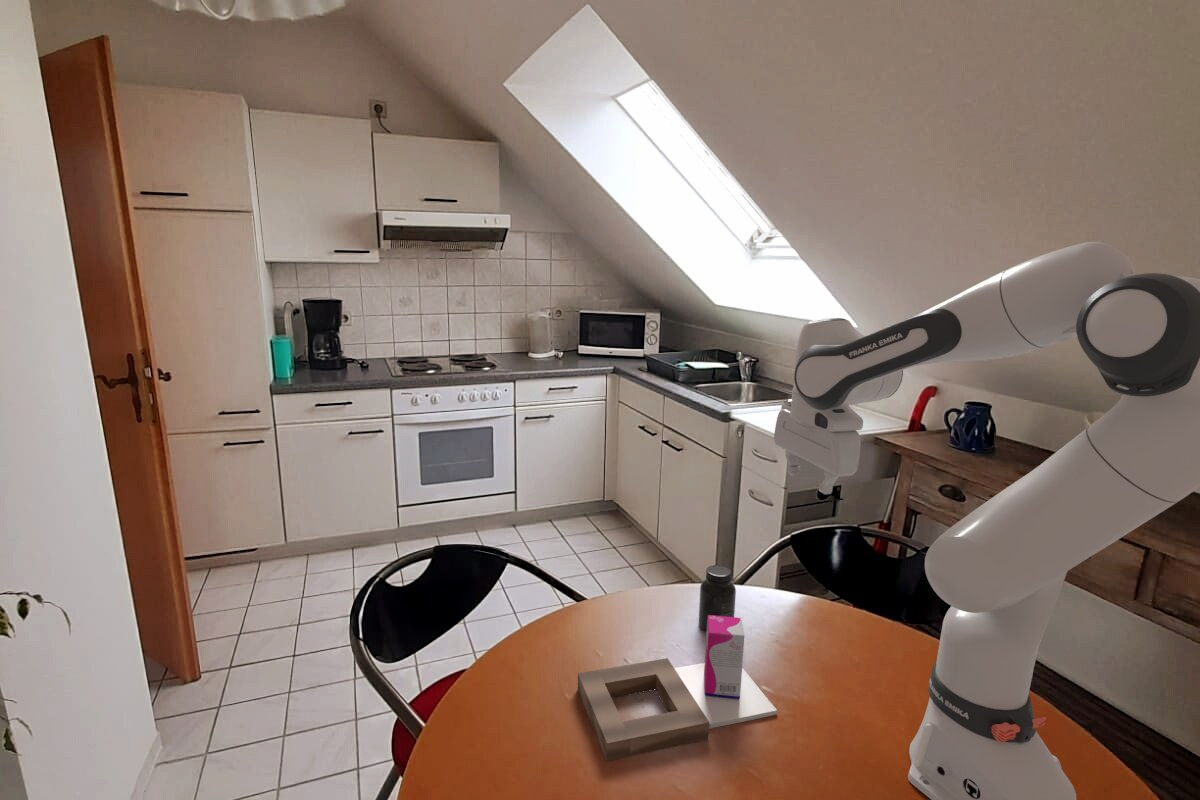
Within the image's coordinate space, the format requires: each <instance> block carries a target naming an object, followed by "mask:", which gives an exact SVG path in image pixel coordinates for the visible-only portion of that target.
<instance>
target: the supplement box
mask: <svg viewBox="0 0 1200 800" xmlns="http://www.w3.org/2000/svg"><path fill="white" fill-rule="evenodd" d="M705 633H706V635H705V636H706V637H705V651H704V652H705V653H704V663H705V666H704V691H705V696H713V697H723V698H731V699H740V691H741V678H742V668H743V661H744V647H745V646H744V645H745V632H744V627H743V623H742V617H735V616H734V617H725V616H713V615H708V618H707V632H705Z"/></svg>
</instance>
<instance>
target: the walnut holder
mask: <svg viewBox="0 0 1200 800" xmlns="http://www.w3.org/2000/svg"><path fill="white" fill-rule="evenodd" d="M674 668H675V667H674V666H673V664H672V663H671V661H670V660H669V658H668V657H667V658H661V659H655V660H649V661H642V662H638V663H632V664H627V665H626V664H625V665H619V666H614V667H608V668H601V669H597V670H590V671H584V672H578V673H577V691H578V694H579V697H580V698H581V701H582V703H583V707H584V708H585V711H586V713H587V716H588V719H589V720H590V723H591V726H592V729H593V730H594V734H595V736H596V738H597V741H598V744H599V746H600V749H601V751H602V754H603V757H604V759H605V760H606V762H610V761H614V760H619V759H624V758H627V757H628V758H629V757H633V756H637V755H641V754H646V753H647V754H648V753H652V752H657V751H662V750H666V749H671V748H674V747H675V748H676V747H680V746H684V745H688V744H693V743H699V742H703V741H708V740H709V735H710V734H709V732H710V729H709V721H708V719H707V718H706V716H705V715H704V713H703V712H702V710H701V709H700V707H699V706H698V704H697V702H696V701H695V699H694V698H693V696H692V695H691V693H690V692H689V690H688V689H687V687H686V686H685V684H684V683H683V681H682V680H681V678H680V676H679V675H678V673H677V672H676V670H675V669H674ZM654 689H656V690H654ZM649 690H652V691H655V692H656V691H657V692H656V694H657V696H658V697H659V696H660V697H659V699H660V698H661V699H660V700H661V702H662V704H663V706H664V705H665V706H664V707H665V709H666V710H667V712H666V713H660V714H655V715H650V716H645V717H639V718H634V719H629V720H625V721H623V719H622V717H621V715H620V713H619V711H618V709H617V707H616V705H615V702H614V700H613V699H614V698H618V697H624V696H630V695H629V694H631V695H635V693H636V694H640V693H639V692H642V693H646V692H645V691H647V692H650V691H649ZM643 691H644V692H643Z"/></svg>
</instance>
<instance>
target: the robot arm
mask: <svg viewBox="0 0 1200 800" xmlns="http://www.w3.org/2000/svg"><path fill="white" fill-rule="evenodd" d="M1074 338H1077V340H1078V343H1079V345H1080V347H1081V349H1082V350H1083V351H1082V352H1083V353H1084V354H1085V355H1086V357H1088V359H1089V360H1090V361H1091V363H1092V364H1093V365H1094V366H1095V367H1096V368H1097V370H1098V371H1099V373H1100V375H1101V376H1102V378H1103V380H1104V382H1105V384H1106V385H1107V387H1108V388H1109V389H1111V390H1112V391H1113V392H1115V393H1118V394H1122V395H1121V397H1120V399H1119V400H1118V401H1117V402H1116V403H1115V405H1113V407H1111V408H1110V409H1109V410H1108V411H1107V412H1106V413H1104V415H1102V416H1100V417H1099V418H1098V419H1097V420H1095V421H1094V422H1092V424H1090V425H1089V426H1088V427H1086V428H1085V429H1083V430H1082V431H1081V432H1080V433H1079V434H1077V435H1076V436H1075V437H1074V438H1073V439H1071V440H1070V441H1068V442H1067V443H1065V445H1063V446H1062V447H1061V448H1060V449H1058V450H1057V451H1056V452H1054V453H1053V454H1051V456H1049V457H1048V458H1047V459H1046V460H1044V461H1043V462H1042V463H1041V464H1040V465H1038V466H1036V467H1035V468H1034V469H1033V470H1031V471H1030V472H1028V473H1027V474H1026V475H1023V476H1022V477H1020V478H1019V479H1018V480H1016V481H1015V482H1013V483H1012V484H1010V485H1008V486H1007V487H1005V488H1004V489H1003V490H1001V491H1000V492H998V493H997V494H995V495H994V496H993V497H991V498H990V499H988V500H987V501H986V502H984V503H982V504H981V505H979V506H978V507H977V508H975V509H974V510H972V511H971V512H969V514H967V515H966V516H965V517H963V518H961V519H960V520H959V521H957V522H956V523H955V524H953V525H952V526H950V528H948V529H947V530H945V531H944V532H943V533H942V534H941V535H940V536H939V537H937V539H936V540H935V541H934V542H933V543H932V544H931V545H930V546H929V548H928V550H927V551H926V555H925V557H924V570H925V571H924V572H925V576H926V578H927V580H928V583H929V585H930V587H931V588H932V589H933V591H934V592H935V593H936V595H937V596H938V597H939V598H940V599H941V600H942V601H944V602H945V603H946V604H948V605H949V606H950V608H948V610H947V611H946V613H945V616H944V618H943V621H942V626H941V632H940V639H939V644H938V651H937V657H936V662H934V664H933V665H932V668H931V673H930V677H929V681H928V696H929V699H928V703H927V706H926V709H925V714H924V716H923V719H922V721H921V724H920V726H919V728H918V731H917V733H916V734H915V736H914V738H913V739H912V740H911V742H910V744H909V753H908V754H909V758H910V762H911V765H910V768H909V771H908V773H907V774H908V775H907V779H908V781H909V782H910V783H911V784H912V785H913V786H914V787H915V788H917V790H918V791H920V792H921V793H922V794H924V795H925V796H926V797H928V798H929V800H1077V793H1076V790H1075V788H1074V785H1073V784H1072V782H1071V781H1070V779H1069V778H1068V777H1067V774H1066V773H1065V772H1064V771H1063V769H1062V764H1061V762H1060V760H1059V758H1058V757H1057V756H1055V755H1053V754H1052V753H1051V751H1050V750H1049V749H1048V747H1047V746H1046V744H1045V742H1044V740H1043V739H1042V737H1040V734H1039V733H1038V732H1037V729H1038V728H1041V727H1043V726H1045V725H1046V722H1045V721H1046V720H1047V717H1046V716H1042V717H1038V718H1036V717H1035V714H1034V708H1033V705H1032V704H1033V703H1032V700H1031V696H1030V694H1029V693H1030V690H1031V689H1030V688H1031V684H1032V679H1033V675H1034V674H1033V673H1034V668H1035V664H1036V659H1037V656H1038V651H1039V648H1040V645H1041V642H1042V638H1043V636H1044V633H1045V631H1046V628H1047V626H1048V625H1049V624H1048V623H1049V622H1050V620H1051V617H1052V614H1053V612H1054V610H1055V607H1056V604H1057V602H1058V599H1059V596H1060V593H1061V591H1062V588H1063V585H1064V582H1065V579H1066V576H1067V573H1068V571H1070V570H1071V569H1073V568H1075V567H1077V566H1078V565H1080V564H1081V563H1083V562H1084V561H1085V560H1087V559H1090V558H1091V557H1092V556H1094V555H1096V554H1097V553H1099V552H1101V551H1102V550H1104V549H1105V548H1107V547H1109V546H1110V545H1112V544H1113V543H1115V542H1117V541H1118V540H1120V539H1122V538H1123V537H1125V536H1126V535H1128V534H1129V533H1131V532H1132V531H1134V530H1136V529H1137V528H1139V527H1140V526H1142V525H1144V524H1145V523H1147V522H1149V520H1151V519H1153V518H1155V517H1157V516H1158V515H1160V514H1161V513H1163V512H1165V511H1166V510H1167V509H1168V508H1171V507H1173V506H1174V505H1175V504H1177V503H1178V502H1180V501H1182V500H1183V499H1185V498H1186V497H1188V496H1190V494H1191V493H1194V492H1195V491H1196V490H1197V489H1199V488H1200V278H1196V277H1189V276H1181V275H1180V276H1179V275H1171V274H1168V273H1159V272H1157V273H1156V272H1154V273H1153V272H1149V273H1147V272H1146V273H1140V274H1137V272H1136V269H1135V267H1134V265H1133V264H1132V261H1131V260H1130V259H1129V258H1128V256H1126V254H1125V253H1123V252H1122V250H1120V249H1118V248H1117V247H1115V246H1113V245H1112V244H1109V243H1107V242H1104V241H1103V242H1102V241H1085V242H1082V243H1078V244H1074V245H1071V246H1067V247H1066V246H1065V247H1063V248H1059V249H1057V250H1053V251H1050V252H1048V253H1047V252H1046V253H1045V254H1042V255H1041V254H1040V255H1039V256H1036V257H1033V258H1031V259H1028V260H1026V261H1023V262H1021V263H1018V264H1016V265H1015V266H1014V265H1013V266H1011V267H1009V268H1007V269H1004V270H1002V271H1001V272H997V274H996V273H995V274H994V275H992V276H990V277H988V278H986V279H985V280H983V281H981V282H978V283H977V284H974V285H973V286H971V287H969V288H967V289H965V290H963V291H961V292H959V293H958V294H955V295H954V296H952V297H950V298H948V299H946V300H944V301H942V302H939V303H938V304H936V305H934V306H932V307H930V308H928V309H926V310H924V311H922V312H920V313H917V314H916V315H914V316H912V317H910V318H907V319H905V320H903V321H900V322H897V323H896V324H892V325H890V326H887V327H885V328H882V329H880V330H878V331H876V332H872V333H870V334H868V335H865V334H863V333H861V332H859V331H858V330H857V329H856V328H855V327H854V326H853V324H852V323H851V322H850V320H848V319H847V318H843V317H841V318H840V317H835V318H834V317H832V318H819V319H818V318H817V319H812V320H809V321H808V322H806V323H804V324H803V326H802V328H801V330H800V332H799V336H798V341H797V347H796V351H795V353H796V354H795V361H794V376H793V377H794V384H793V387H792V391H791V393H792V394H791V399H789V398H788V399H786V400H785V401H784V402H783V403H782V404H781V408H780V411H779V412H778V414H777V417H776V422H775V427H774V434H773V441H774V443H775V445H776V446H778V447H779V448H781V449H784V450H785V458H786V462H787V465H788V466H787V473H788V474H789V475H790V476H792V477H799V476H800V475H801V471H802V469H801V468H802V467H801V466H800V464H799V459H798V457H799V458H801V459H803V460H805V461H807V462H809V463H811V464H813V465H814V466H817V467H818V468H820V469H822V470H823V476H825V477H824V479H823V481H819V483H818V489H817V490H818V491H819V492H820V493H822V494H823V495H831V494H832V493H833V488H834V484H835V483H836V481H838V479H839V477H849V476H850V477H851V476H853V475H854V474H856V472H857V471H858V468H859V463H860V455H861V444H862V443H861V436H860V433H859V432H858V431H861V430H862V429H863V427H864V419H863V418H862V416H860V415H859V414H858V413H857V412H856V411H855V410H853V408H852V407H851V405H855V404H856V405H857V404H864V403H871V402H877V401H882V400H884V399H888V398H890V397H892V396H893V395H895V393H896V392H897V391H898V390H899V388H900V386H901V384H902V380H903V375H904V370H907V369H910V368H913V367H919V366H924V365H932V364H938V363H939V364H940V363H955V362H956V363H958V362H963V363H964V362H978V361H979V362H980V361H992V360H998V359H1006V358H1012V357H1017V356H1021V355H1025V354H1029V353H1033V352H1036V351H1039V350H1042V349H1045V348H1048V347H1050V346H1054V345H1056V344H1059V343H1062V342H1065V341H1067V340H1072V339H1074ZM1118 386H1121V387H1122V388H1121V387H1118Z"/></svg>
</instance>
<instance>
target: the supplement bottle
mask: <svg viewBox="0 0 1200 800" xmlns="http://www.w3.org/2000/svg"><path fill="white" fill-rule="evenodd" d="M736 593H737V589H736V587H735V585H734V583H733V582H732V570H731V569H730V568H729V567H727V566H723V565H721V564H720V565H718V564H717V565H716V564H714V565H710V566H707V568H706V572H705V579H704V580H703V581H702V582H701V583H700V589H699V603H698V604H699V607H698V625H699V627H700V629H701V630H702V631H703V632H705V633H707V618H708V615H713V616H725V617H735V614H736V613H735V612H736V611H735V609H736Z"/></svg>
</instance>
